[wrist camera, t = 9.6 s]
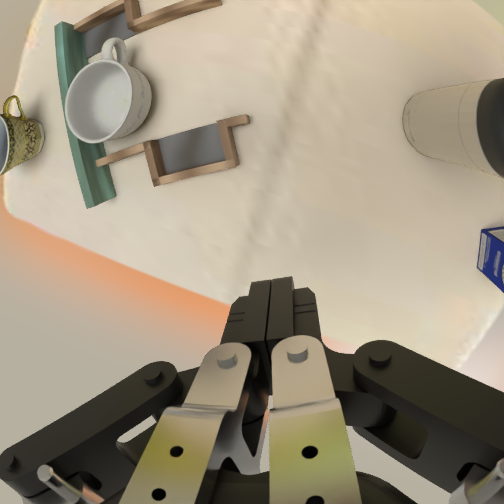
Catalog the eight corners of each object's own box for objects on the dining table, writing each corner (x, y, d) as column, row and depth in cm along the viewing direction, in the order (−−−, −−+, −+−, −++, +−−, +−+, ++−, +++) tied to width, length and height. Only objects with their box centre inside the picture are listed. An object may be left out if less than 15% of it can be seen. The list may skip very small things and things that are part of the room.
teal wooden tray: (214, -26, 27) (203, -45, 21) (258, 160, 37) (253, 165, 32) (77, 33, 31) (54, 26, 25) (108, 198, 41) (86, 208, 36)
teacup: (145, 147, 38) (116, 153, 30) (87, 130, 37) (54, 133, 30) (178, 54, 32) (155, 39, 25) (115, 44, 32) (85, 32, 24)
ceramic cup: (42, 174, 41) (1, 188, 31) (12, 154, 39) (-27, 164, 30) (64, 103, 36) (21, 104, 26) (31, 88, 35) (-9, 88, 25)
